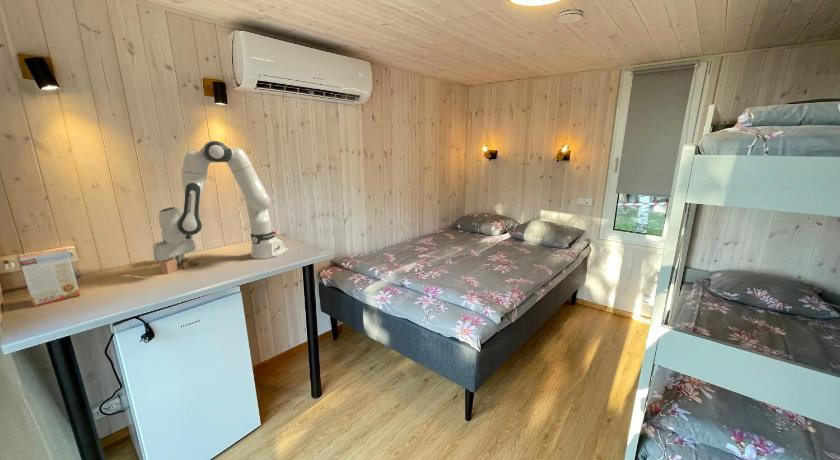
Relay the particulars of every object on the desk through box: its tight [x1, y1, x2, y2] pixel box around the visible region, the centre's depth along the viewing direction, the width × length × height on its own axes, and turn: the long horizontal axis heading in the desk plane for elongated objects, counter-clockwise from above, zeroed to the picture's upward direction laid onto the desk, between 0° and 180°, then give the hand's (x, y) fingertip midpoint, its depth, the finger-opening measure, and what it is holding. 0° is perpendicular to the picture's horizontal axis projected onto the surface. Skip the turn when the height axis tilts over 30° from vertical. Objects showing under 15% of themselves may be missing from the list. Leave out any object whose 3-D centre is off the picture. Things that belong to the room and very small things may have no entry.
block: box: [158, 259, 178, 274], centre depth 177 cm, size 5×5×6 cm
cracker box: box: [18, 248, 81, 307], centre depth 144 cm, size 14×6×21 cm, turn 141°
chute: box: [177, 257, 199, 270], centre depth 183 cm, size 15×9×4 cm, turn 163°
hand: (177, 263), depth 182 cm, fingers closed
